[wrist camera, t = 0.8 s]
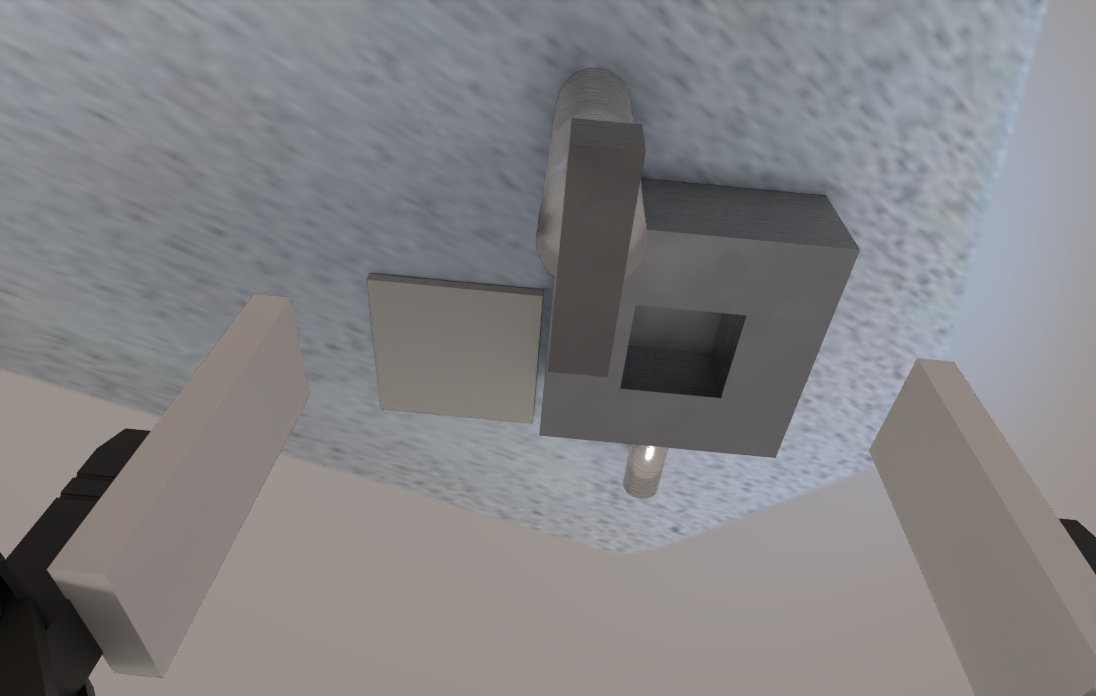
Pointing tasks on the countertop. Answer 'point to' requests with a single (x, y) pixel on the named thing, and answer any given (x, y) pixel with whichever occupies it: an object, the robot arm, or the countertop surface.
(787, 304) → the block
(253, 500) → the robot arm
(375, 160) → the countertop surface
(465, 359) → the mat
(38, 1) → the countertop surface
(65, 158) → the countertop surface
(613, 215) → the chuck key
